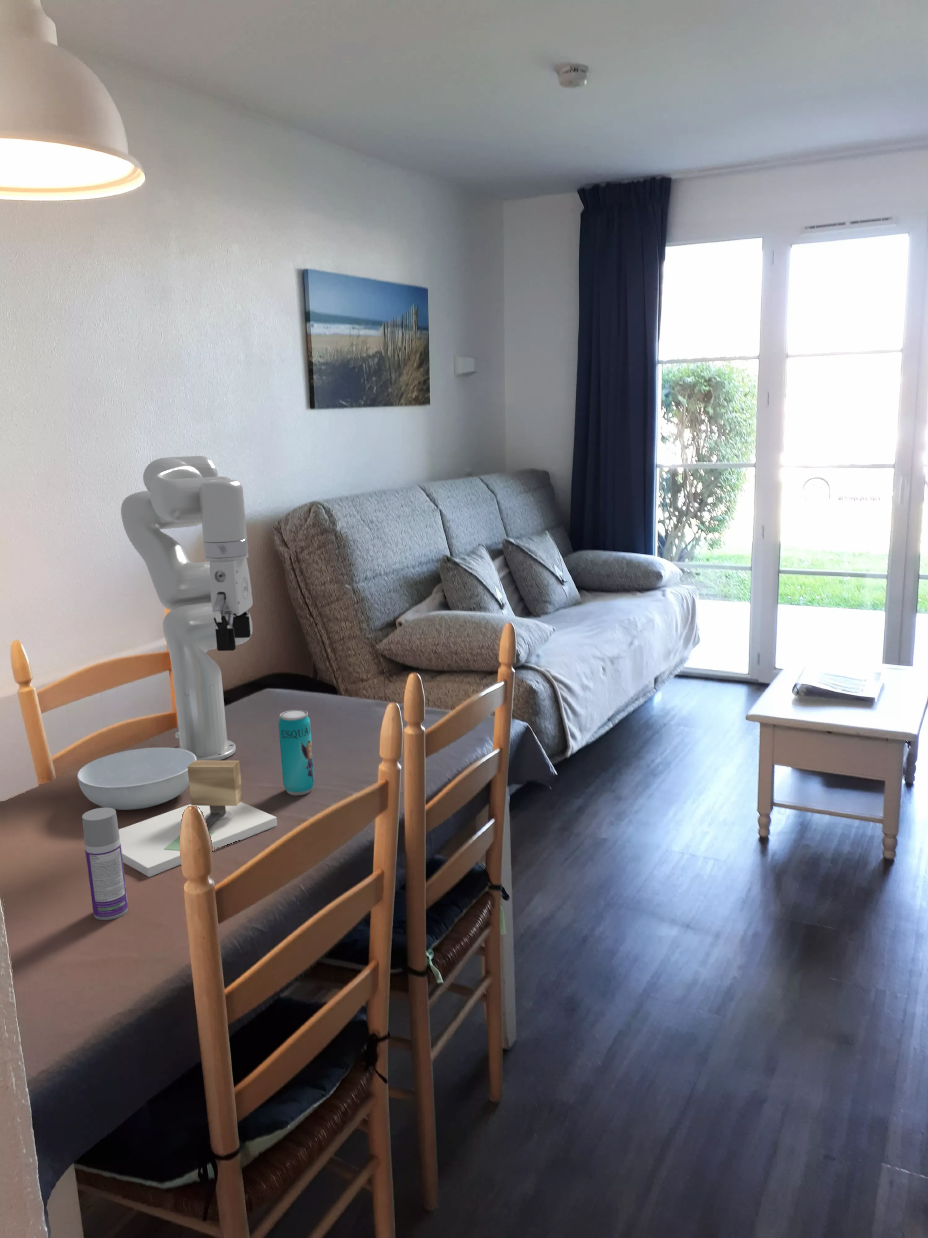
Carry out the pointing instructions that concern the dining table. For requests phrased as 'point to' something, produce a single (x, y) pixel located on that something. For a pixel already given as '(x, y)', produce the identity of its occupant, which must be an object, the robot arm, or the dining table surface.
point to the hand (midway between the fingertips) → (234, 643)
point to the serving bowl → (136, 777)
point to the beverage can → (296, 752)
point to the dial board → (159, 837)
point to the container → (105, 863)
